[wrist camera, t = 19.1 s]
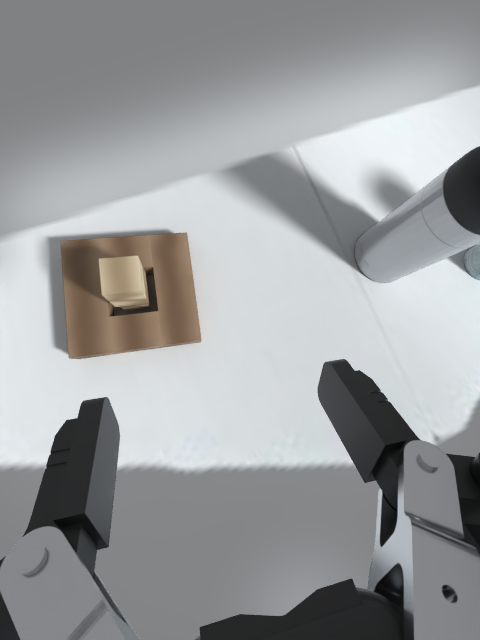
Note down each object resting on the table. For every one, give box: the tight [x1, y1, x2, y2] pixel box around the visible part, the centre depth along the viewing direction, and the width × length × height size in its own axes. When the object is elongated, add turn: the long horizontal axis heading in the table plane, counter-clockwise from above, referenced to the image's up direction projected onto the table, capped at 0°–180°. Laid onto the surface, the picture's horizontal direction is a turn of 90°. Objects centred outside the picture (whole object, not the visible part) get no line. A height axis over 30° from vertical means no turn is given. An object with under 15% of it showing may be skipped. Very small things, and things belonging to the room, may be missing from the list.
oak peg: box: [99, 256, 150, 311], centre depth 36 cm, size 4×4×10 cm
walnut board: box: [60, 233, 201, 359], centre depth 40 cm, size 16×15×3 cm
